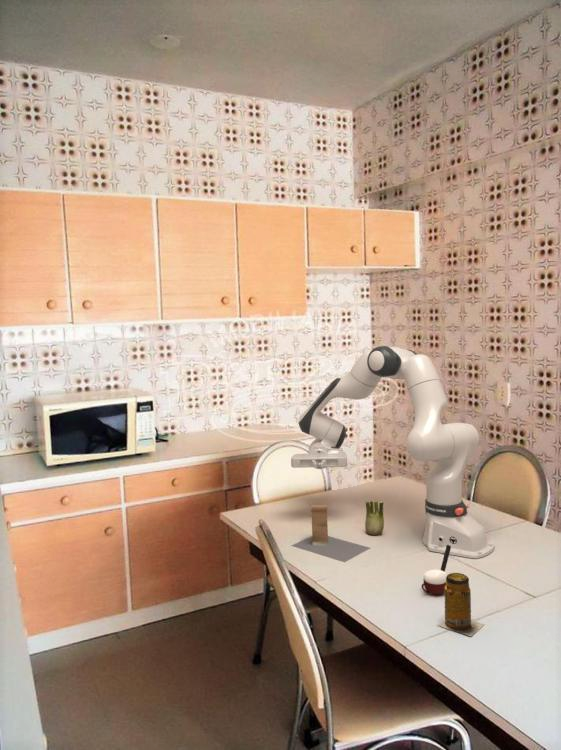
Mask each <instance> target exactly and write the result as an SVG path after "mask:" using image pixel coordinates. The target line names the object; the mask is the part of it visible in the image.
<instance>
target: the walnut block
mask: <svg viewBox="0 0 561 750" xmlns="http://www.w3.org/2000/svg"><path fill="white" fill-rule="evenodd" d="M327 506H328V505H327V504H311V511H310V512H311V513H310V514H311V536H312V540H313V545H328V536H329V531H328V507H327Z"/></svg>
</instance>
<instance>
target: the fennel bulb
mask: <svg viewBox="0 0 561 750" xmlns="http://www.w3.org/2000/svg"><path fill="white" fill-rule="evenodd" d="M365 510H366V513H365V522H364V523H365V524H364V525H365V531H366V534H368V535H369V536H372V537H373V536H375V537H377V536H379V537H380V536H381V535H382V534H383V531H384V529H385V528H384V527H385V518H384V502H383V501H379V502H378V501H377V500H375V501H373V500H371V501H365Z"/></svg>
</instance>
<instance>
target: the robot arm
mask: <svg viewBox="0 0 561 750" xmlns="http://www.w3.org/2000/svg"><path fill="white" fill-rule="evenodd" d="M438 373H439V372H438V371H437V369H436V367H435V366H434V363H433V361H432V360H431V358H430V357H429V356H428V355H426V354H423V353H422V354H421V353H420V354H418V353H417V352H415V351H413V350H411V349H405V348H402V347H398V346H387V345H380V346H376V347H375V348H373V349H367V350H365V351H364V352H363V353H362V354H361V355H360V356H359V358H358V359H357V360H356V361H355V363H354V364H353V366H352V368H351V369H350V370H349V372H348V373H347V374H346V375H344V376H342V377H337V378H335V379H333V380H332V381H331V382H330V383H329V385H327V387H326V388H324V390H323V391H322V392H321V394H320V395H319V396H317V398H316V399H315V401H314V402H313V403H312V404H311V405H310V406H309V407H308V408H307V409H306V410H304V412H303V413H302V414H301V415H300V418H299V420H298V426H299V428H300V431H301V433H304V434H306V435H308V436H311V437H314V440H313V441H312V442H311V443H310V445H309V447H308V451H307V453H295V454H292V455H291V457H290V465H291V466H290V467H292V468H295V469H296V468H298V469H299V468H302V469H303V468H314V469H316V470H323V469H327V468H345V467H347V466H348V455H347V454H346V453H347V452H345V451H344V450H343V448H342V445H343V443H344V441H345V439H346V435H347V431H346V429H347V428H346V427H345V424H343V423H342V422H340V421H338V420H336V419H334V418H332V417H331V416H329V415H327V414H324V412H321V411H323V410H324V408H325V407H327V405H328V404H329V402H330V401H332V400H333V399H336V398H339V399H341V398H342V399H349V400H353V401H354V400H364V399H366V398H369V396H371V395H372V393H373V392H374V391H375V389H376V387H377V386H378V384H379V382H380V381H381V380H382V378H388V379H392V380H404V382H405V385H406V388H407V391H408V394H409V397H410V400H411V405H412V407H413V414H414V421H413V426H412V428H411V430H410V432H409V433H408V434H407V437H406V440H405V446H406V450H407V453H408V454H409V456H410V457H411V459H413V460H415V461H420V462H433V461H436V464H435V465H434V467H433V468H432V469H431V470H430V471H429V472H428V473H427V475H426V478H425V479H426V480H425V482H426V483H425V486H426V487H425V489H426V498H425V500H424V503H425V504H424V509H425V517H426V518H425V526H424V533H423V536H422V543H423V545H425V546H426V547H427V550H428V551H429V552H433V553H434V552H435V553H441V554H445V550H446V546H447V545H449V546H451V549H450V553H449V555H451V556H452V555H453V556H458V557H463V558H464V557H465V558H469V559H480V558H484V557H486V556H488V555H490V554H491V553H492V552H493V551H494V550H495V543H494V542H493V541H490V540H488V537H487V532H486V529H485V527H484V526H483V525H482V524H480V523H479V522H478V521H477V520H476V519H475V518H474V517H473V516H471V515H470V514H469V513H468V509H469V508H470V503H467V504H465V503H464V500H463V498H462V493H463V491H462V490H463V489H462V487H463V485H462V484H463V475H464V472H465V468H466V466H467V463H468V462H469V459H470V457H471V456H472V454H473V453H475V451H477V449H478V448H479V444H480V434H479V432H478V430H477V428H476V427H475V426H474V425H473V424H471V423H466V422H451V423H442V421H441V414H442V413H443V412H444V411H445V409H446V408H447V406H448V399H447V396H446V393H445V389H444V386H443V384H442V381H441V378H440V376H439V374H438Z"/></svg>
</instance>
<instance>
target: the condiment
mask: <svg viewBox="0 0 561 750" xmlns="http://www.w3.org/2000/svg"><path fill="white" fill-rule="evenodd" d="M469 580H470V579H469V577H468V575H466V574H463V573H461V572H451V573H449V574H448V573H447V577H446V586H445V592H444V620H442V621H441V622H440V623H438V627H442V628H444V629H447V630H449V631H452V632H457V633H459V634H462V635H466V636H469V637H472V636H474V635H475V634H476V633H477V632H479V631H480V630H481V628H483V627H484V626H485V624H484V623H481V622H478V621H475V620H473V619H472V608H471V607H472V603H471V601H472V597H471V596H472V595H471V588H470V583H469Z"/></svg>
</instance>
